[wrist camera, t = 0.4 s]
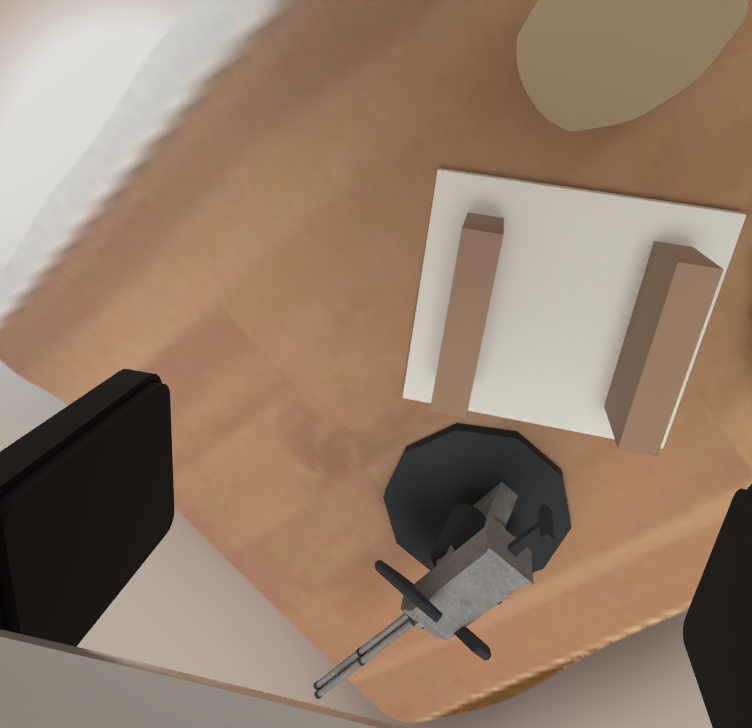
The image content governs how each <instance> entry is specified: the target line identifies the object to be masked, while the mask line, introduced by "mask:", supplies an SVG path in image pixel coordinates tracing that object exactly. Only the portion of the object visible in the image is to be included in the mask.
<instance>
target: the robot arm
mask: <svg viewBox="0 0 752 728" xmlns="http://www.w3.org/2000/svg"><path fill="white" fill-rule="evenodd" d="M173 517H174V490H173V463H172V436H171V409H170V391H169V388H168V386H167V385H166V384H162V382H161V379H160V377H159V376H158V375H157V374H151V373H146V372H140V371H135V370H129V369H123V370H121V371H119V372H118V373H116V374H115V375H113V376H112V377H110V378H109V379H107V380H106V381H104V382H103V383H101V384H100V385H98V386H97V387H95V388H94V389H92V390H91V391H89V392H88V393H86V394H85V395H84V396H82V397H81V398H79V399H78V400H76V401H75V402H73V403H72V404H70V405H69V406H67V407H66V408H65V409H63V410H61V411H60V412H58V413H57V414H55V415H54V416H52V417H51V418H49V419H48V420H47V421H45V422H44V423H42V424H41V425H39V426H38V427H36V428H35V429H33V430H32V431H30V432H29V433H27V434H26V435H24V436H23V437H21V438H20V439H18V440H17V441H15V442H14V443H13V444H11V445H10V446H8V447H7V448H5V449H4V450H2V451H1V452H0V728H406V727H402V726H398V725H394V724H390V723H386V722H382V721H378V720H374V719H370V718H366V717H362V716H358V715H354V714H350V713H346V712H342V711H338V710H334V709H330V708H325V707H321V706H317V705H313V704H309V703H305V702H301V701H297V700H293V699H289V698H285V697H281V696H277V695H273V694H269V693H264V692H260V691H256V690H253V689H249V688H244V687H240V686H236V685H232V684H228V683H224V682H219V681H215V680H211V679H207V678H203V677H199V676H195V675H190V674H186V673H182V672H178V671H174V670H170V669H166V668H162V667H157V666H153V665H149V664H145V663H141V662H137V661H133V660H129V659H124V658H120V657H116V656H112V655H108V654H104V653H100V652H95V651H91V650H87V649H83V648H79V647H76V646H77V645H78V644H79V643H80V641H81V640H82V639H83V638H84V636H85V635H86V634H87V633H88V631H89V630H90V629H91V628H92V626H93V625H94V624H95V623H96V621H97V620H98V619H99V618H100V616H101V615H102V614H103V613H104V611H105V610H106V609H107V608H108V606H109V605H110V604H111V603H112V601H113V600H114V599H115V598H116V596H117V595H118V594H119V592H120V591H121V590H122V589H123V588H124V586H125V585H126V584H127V583H128V581H129V580H130V579H131V578H132V576H133V575H134V574H135V573H136V571H137V570H138V569H139V568H140V566H141V565H142V563H144V561H145V560H146V559H147V558H148V556H149V555H150V554H151V552H152V551H153V550H154V549H155V547H156V546H157V545H158V544H159V543H160V541H161V540H162V539H163V538H164V536H165V535H166V534H167V532H168V531H169V529H170V527H171V524H172V521H173ZM683 638H684V644H685V647H686V650H687V653H688V656H689V659H690V662H691V665H692V668H693V671H694V673H695V677H696V679H697V682H698V685H699V689H700V691H701V694H702V697H703V700H704V703H705V706H706V709H707V712H708V715H709V718H710V721H711V724H712V727H713V728H752V484H751V486H750V487H749V488H748V489H747V490H746V489H739V490H738V491H737V492H736V493H735V495H734V497H733V499H732V502H731V504H730V507H729V509H728V512H727V514H726V517H725V519H724V522H723V524H722V527H721V529H720V532H719V534H718V537H717V539H716V542H715V544H714V547H713V549H712V552H711V555H710V557H709V560H708V562H707V565H706V567H705V570H704V572H703V575H702V577H701V580H700V582H699V585H698V587H697V590H696V592H695V595H694V597H693V600H692V602H691V605H690V607H689V610H688V613H687V615H686V618H685V621H684V627H683Z"/></svg>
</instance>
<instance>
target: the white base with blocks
mask: <svg viewBox="0 0 752 728" xmlns="http://www.w3.org/2000/svg"><path fill="white" fill-rule="evenodd" d="M745 218H746V214H744V213H741V212H739V211H733V210H726V209H719V208H712V207H705V206H698V205H691V204H685V203H678V202H671V201H664V200H657V199H650V198H643V197H636V196H629V195H623V194H616V193H609V192H602V191H595V190H588V189H581V188H574V187H567V186H561V185H554V184H547V183H540V182H533V181H526V180H519V179H512V178H505V177H499V176H492V175H485V174H478V173H471V172H464V171H457V170H450V169H443V168H439V169H438V171H437V178H436V184H435V191H434V197H433V204H432V210H431V217H430V223H429V230H428V236H427V243H426V249H425V256H424V262H423V269H422V275H421V282H420V288H419V294H418V301H417V307H416V314H415V320H414V327H413V333H412V340H411V346H410V353H409V359H408V366H407V372H406V379H405V385H404V392H403V398H406V399H411V400H416V401H421V402H427V403H431V407H430V411H432V412H437V413H442V414H447V415H452V416H457V417H462V418H466V417H467V412H468V411H473V412H478V413H483V414H488V415H493V416H498V417H503V418H508V419H514V420H519V421H524V422H529V423H534V424H539V425H544V426H549V427H555V428H560V429H565V430H570V431H575V432H580V433H585V434H590V435H596V436H601V437H606V438H611V439H615V441H616V444H617V447H618V448H619V449H625V450H630V451H635V452H640V453H645V454H650V455H655V456H658V453H659V450H660V448H662V449H663V447H664V444H665V442H666V439H667V436H668V433H669V430H670V428H671V425H672V422H673V419H674V416H675V414H676V411H677V408H678V405H679V402H680V400H681V397H682V394H683V391H684V388H685V386H686V383H687V380H688V377H689V374H690V372H691V369H692V366H693V363H694V360H695V358H696V355H697V352H698V349H699V347H700V344H701V341H702V338H703V335H704V333H705V330H706V327H707V324H708V321H709V319H710V316H711V313H712V310H713V307H714V305H715V302H716V299H717V296H718V293H719V291H720V288H721V285H722V282H723V279H724V277H725V274H726V271H727V268H728V265H729V263H730V260H731V257H732V254H733V251H734V249H735V246H736V243H737V240H738V237H739V235H740V232H741V229H742V226H743V223H744V221H745Z"/></svg>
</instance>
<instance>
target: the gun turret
mask: <svg viewBox="0 0 752 728" xmlns="http://www.w3.org/2000/svg"><path fill="white" fill-rule="evenodd" d="M384 501H385V504H386V507H387V511H388V514H389V518H390V521H391V525H392V528H393V532H394V535H395V539H396V542H397V544H398V545H400V546H401V547H402V548H403V549H405V550H406V551H407V552H408V553H410V554H411V555H412V556H413V557H414V558H416V559H417V560H418V561H419V562H421V563H422V564H423V565H424V566H426V567H427V568H428V569H429V570H431V571H430V572H429V573H427V574H426V575H425V576H424V577H422V578H421V579H420V580H419V581H417V582H416V583H415V584H413V583H411V582H410V581H409V580H408V579H406V578H405V577H404V576H403V575H401V574H400V573H398V572H397V571H396V570H394V569H393V568H391V567H390V566H388V565H387V564H386V563H384V562H383V561H381V560H379V561H376V563H375V569H376V570H377V571H378V572H379V573H380V574H381V575H382V576H383V577H384V578H385V579H386V580H388V581H389V582H390V583H391V584H392V585H393V586H394V587H395V588H396V589H398V590H399V591H400V592H401V593H402V594H403V595H404V596H403V600H402V605H401V610H402V611H403V612H404V614H403V615H402V616H400V617H399V618H398V619H396V620H395V621H394V622H393V623H391V624H390V625H389V626H388V627H386V628H385V629H384V630H382V631H381V632H380V633H379V634H377V635H376V636H375V637H374V638H372V639H371V640H370V641H368V642H367V643H366V644H365V645H363V646H362V647H360V648H358V649H357V650H356V652H354V653H353V654H352V655H351V656H349V657H348V658H347V659H346V660H344V661H343V662H342V663H340V664H339V665H338V666H337V667H335V668H334V669H333V670H332V671H330V672H329V673H328V674H326V675H325V676H324V677H323V678H321V679H320V680H319V681H317V682H315V683H314V685H313V686H314V689H315V690H317V691H316V692H315V694H314V696H315V698H316V699H320V698H321V697H322V696H323V695H324V694H325V693H327V692H328V691H329V690H330V689H332V688H333V687H334V686H336V685H337V684H338V683H340V682H341V681H342V680H344V679H345V678H346V677H348V676H349V675H350V674H352V673H353V672H354V671H355V670H357V669H358V668H359V667H361V666H363V665H364V664H365V663H366V662H367V661H369V660H370V659H371V658H372V657H374V656H375V655H376V654H378V653H379V652H380V651H382V650H383V649H384V648H386V647H387V646H388V645H389V644H391V643H392V642H393V641H395V640H396V639H397V638H399V637H400V636H401V635H403V634H404V633H405V632H406V631H408V630H409V629H410V628H412V627H413V626H416V627H417V628H419V629H426V630H427V631H428V632H429V633H431V634H432V635H433V636H435V637H436V638H441V639H446V640H448V639H450V638H451V637H453V636H454V635H456V636H457V637H458V638H459V639H460V640H461V641H462V642H463V643H464V644H465V645H466V646H467V647H468V648H469V649H470V650H471V651H472V652H474V653H475V654H476V655H478V656H479V657H481V658H482V659H483V660H489V658H490V657H491V651H490V649H489V647H488V646H487V645H486V644H485V643H484V642H483V641H482V640H480V639H479V638H478V637H477V636H476V635H475V634H473V633H472V632H471V631H470V630H469V629H467V628H466V626H468V625H469V624H470V623H472V622H473V621H475V620H476V619H477V618H479V617H480V616H481V615H483V614H484V613H486V612H487V611H488V610H490V609H491V608H492V607H494V606H495V605H497V604H500V603H501V602H502V600H504V599H505V598H506V597H508V596H509V595H510V594H512V593H513V592H515V591H516V590H517V589H519V588H520V587H521V586H523V585H524V584H526V583H527V584H528V585H529V586H531V585H533V572H535V571H538V570H541V569H544V567H545V566H546V564H547V563H548V561H549V560H550V558H551V557H552V555H553V554H554V552H555V551H556V549H557V548H558V546H559V545H560V543H561V542H562V541H563V539H564V538H565V536H566V535H567V533H568V532H569V530H570V529H571V523H570V517H569V511H568V506H567V500H566V494H565V488H564V483H563V477H562V471H561V469H560V468H559V467H558V466H557V465H556V464H554V463H553V462H552V461H551V460H550V459H549V458H547V457H546V456H545V455H544V454H543V453H542V452H540V451H539V450H538V449H537V448H536V447H535V446H533V445H532V444H531V443H530V442H529V441H528V440H526V439H525V438H524V437H523V436H522V435H521V434H519V433H518V432H516V431H509V430H502V429H495V428H488V427H481V426H474V425H466V424H459V423H456V424H454V425H452V426H450V427H448V428H445V429H443V430H441V431H439V432H437V433H435V434H432V435H430V436H428V437H426V438H424V439H422V440H419V441H417V442H415V443H413V444H411V445H409V446H407V447H406V449H405V451H404V453H403V455H402V457H401V459H400V461H399V463H398V466H397V468H396V470H395V472H394V474H393V476H392V478H391V480H390V482H389V484H388V486H387V488H386V491H385V494H384ZM408 619H409V620H408ZM404 622H405V623H404ZM403 623H404V624H403ZM399 626H400V627H399ZM395 629H396V630H395ZM394 630H395V631H394ZM390 633H391V634H390ZM386 636H387V637H386ZM385 637H386V638H385ZM382 639H383V640H382ZM381 640H382V641H381ZM377 643H378V644H377ZM373 646H374V647H373ZM372 647H373V648H372ZM368 650H369V651H368ZM359 657H360V658H359ZM355 660H356V661H355ZM354 661H355V662H354ZM350 664H351V665H350ZM346 667H347V668H346ZM345 668H346V669H345ZM342 670H343V671H342ZM341 671H342V672H341ZM337 674H338V675H337ZM333 677H334V678H333ZM332 678H333V679H332ZM328 681H329V682H328ZM324 684H325V685H324Z"/></svg>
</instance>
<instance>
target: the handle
mask: <svg viewBox="0 0 752 728" xmlns="http://www.w3.org/2000/svg"><path fill="white" fill-rule="evenodd" d="M748 5H749V0H538V1H537V3H536V4H535V6H534V8H533V9H532V11H531V13H530V14H529V16H528V18H527V20H526V21H525V23H524V25H523V27H522V28H521V30H520V32H519V34H518V35H517V41H516V64H517V70H518V73H519V77H520V81H521V83H522V85H523V88H524V90H525V92H526V94H527V96H528V98H529V99H530V101H531V102H532V104H533V105H534V107H535V108H536V109H537V111H538V112H539V113H540V114H541V115H542V116H543V117H544V118H545V119H546V120H548V121H549V122H551V123H552V124H554V125H556V126H557V127H559V128H562V129H564V130H566V131H569V132H574V131H581V130H588V129H595V128H601V127H607V126H613V125H618V124H621V123H625V122H628V121H632V120H634V119H636V118H638V117H640V116H642V115H644V114H646V113H648V112H650V111H651V110H653V109H654V108H656V107H658V106H659V105H661V104H662V103H664V102H665V101H667V100H669V99H670V98H672V97H673V96H675V95H676V94H678V93H680V92H681V91H683V90H684V89H685V88H687V87H688V86H689V85H691V84H692V83H693V82H694V81H696V80H697V79H698V78H699V77H700V76H701V75H702V74H703V73H704V72H705V71H706V70H707V69H708V67H709V66H710V65H711V64H712V63H713V62H714V60H715V59H716V58H717V56H718V55H719V54H720V52H721V51H722V50H723V48H724V47H725V46H726V44H727V43H728V42H729V40H730V39H731V38H732V36H733V35H734V33H735V32H736V31H737V29H738V28H739V26H740V25H741V24H742V22H743V21H744V20H745V18H746V16H747V11H748Z"/></svg>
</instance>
